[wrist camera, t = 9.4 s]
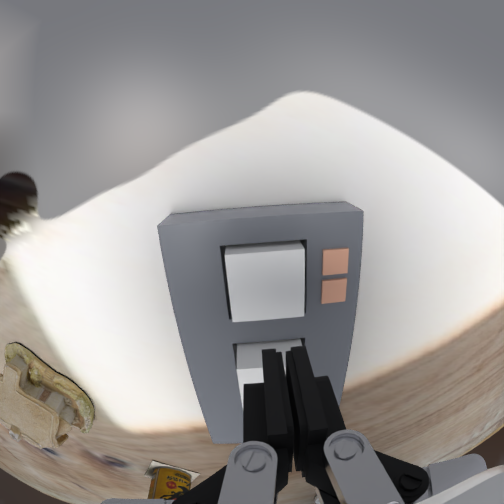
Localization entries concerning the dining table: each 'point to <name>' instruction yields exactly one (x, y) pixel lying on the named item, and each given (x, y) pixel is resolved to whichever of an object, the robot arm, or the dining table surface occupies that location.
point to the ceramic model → (40, 401)
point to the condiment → (168, 481)
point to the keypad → (230, 333)
